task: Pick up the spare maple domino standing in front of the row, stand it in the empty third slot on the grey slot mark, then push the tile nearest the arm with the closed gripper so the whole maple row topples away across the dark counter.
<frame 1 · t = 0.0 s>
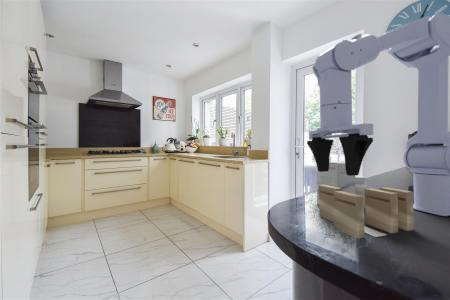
hand: (336, 173, 42), 10 cm above the countertop, tool pointing down, fingers open, 7 cm apart
tile 4: (348, 232, 37), on the countertop
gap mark: (365, 229, 38), on the countertop
tile 1: (396, 225, 40), on the countertop
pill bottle: (357, 206, 55), on the countertop
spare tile: (330, 219, 45), on the countertop
tile 2: (381, 227, 39), on the countertop
ink box: (335, 208, 53), on the countertop
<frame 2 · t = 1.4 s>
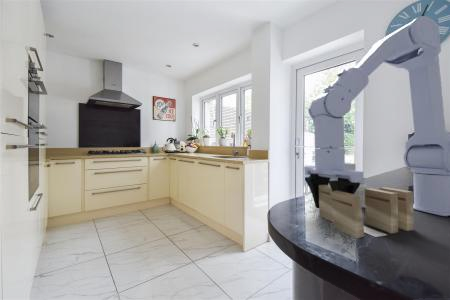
hand: (330, 211, 45), 2 cm above the countertop, tool pointing down, fingers open, 5 cm apart
tile 4: (348, 231, 37), on the countertop, tilted 7°, touching gripper
everything else where it was.
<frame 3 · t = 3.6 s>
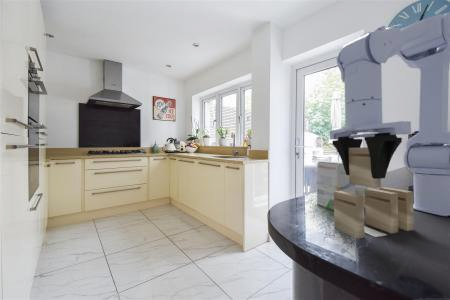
hand: (364, 176, 38), 10 cm above the countertop, tool pointing down, fingers closed on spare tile, 5 cm apart
tile 4: (348, 232, 37), on the countertop
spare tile: (364, 185, 38), point 8 cm above the countertop, touching gripper
everything else where it was.
when the fingers open (2 cm above the countertop, at t = 5.5 s): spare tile stays where it is, resting on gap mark.
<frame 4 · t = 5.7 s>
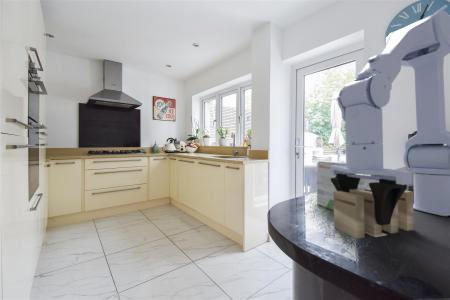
hand: (364, 217, 38), 2 cm above the countertop, tool pointing down, fingers open, 6 cm apart
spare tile: (365, 229, 38), resting on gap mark
everything else where it was.
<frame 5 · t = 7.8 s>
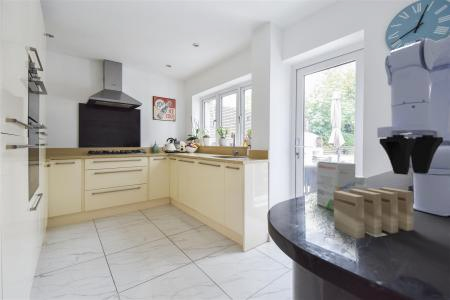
hand: (410, 173, 41), 10 cm above the countertop, tool pointing down, fingers open, 5 cm apart
nothing on the countertop moved.
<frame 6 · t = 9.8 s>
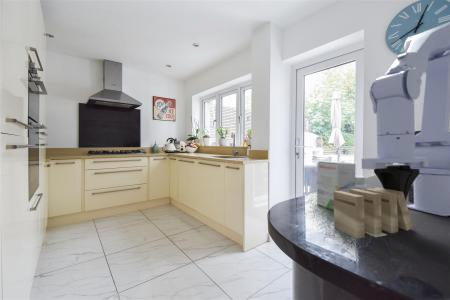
hand: (396, 205, 40), 4 cm above the countertop, tool pointing down, fingers closed
tile 1: (395, 224, 40), on the countertop, tilted 20°, touching gripper
everything else where it was.
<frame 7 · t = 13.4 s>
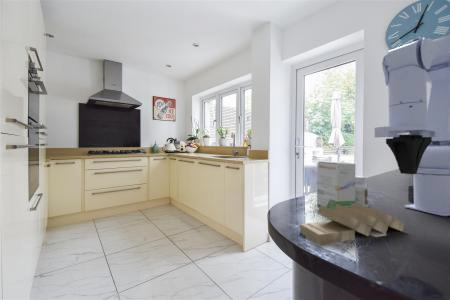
hand: (408, 173, 41), 10 cm above the countertop, tool pointing down, fingers closed
tile 4: (342, 229, 37), point 1 cm above the countertop, tilted 90°, touching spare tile
tile 1: (389, 222, 40), point 1 cm above the countertop, tilted 65°, touching tile 2
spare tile: (357, 226, 38), point 1 cm above the countertop, tilted 63°, touching tile 2, tile 4
tile 2: (373, 224, 39), point 1 cm above the countertop, tilted 64°, touching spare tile, tile 1
everything else where it was.
at the end: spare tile 0.8 cm from the target spot, point 0.8 cm above the countertop; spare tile tilted 63°; tile 4 tilted 90° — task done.
